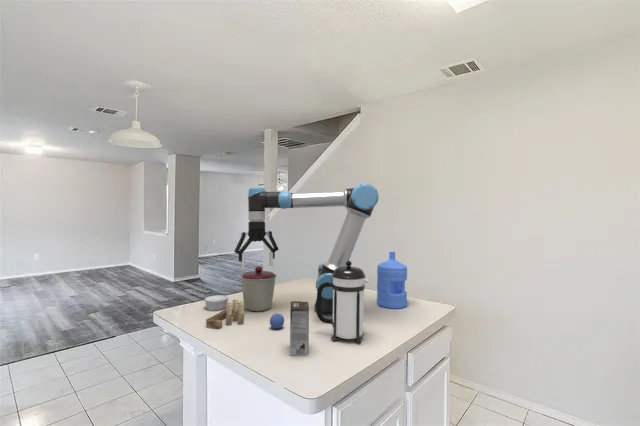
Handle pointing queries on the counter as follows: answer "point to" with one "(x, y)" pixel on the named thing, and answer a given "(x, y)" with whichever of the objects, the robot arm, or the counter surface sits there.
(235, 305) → the pin
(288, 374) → the counter surface
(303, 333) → the coffee box
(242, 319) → the pin front
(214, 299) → the ramekin
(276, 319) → the ball
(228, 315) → the pin
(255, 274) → the canister
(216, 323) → the rail
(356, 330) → the coffee press
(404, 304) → the water jug
